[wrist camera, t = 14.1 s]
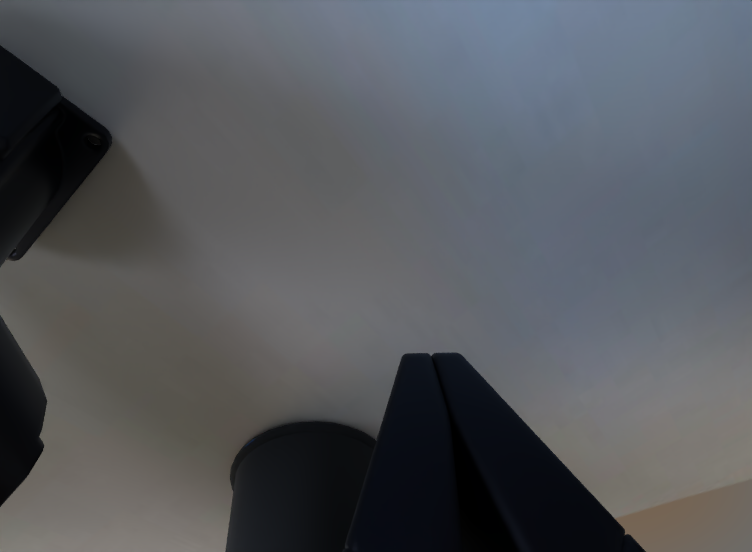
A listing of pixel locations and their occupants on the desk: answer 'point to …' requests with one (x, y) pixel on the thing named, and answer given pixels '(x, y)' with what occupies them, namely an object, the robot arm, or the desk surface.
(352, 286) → the desk surface
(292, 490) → the aerosol can
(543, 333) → the desk surface
